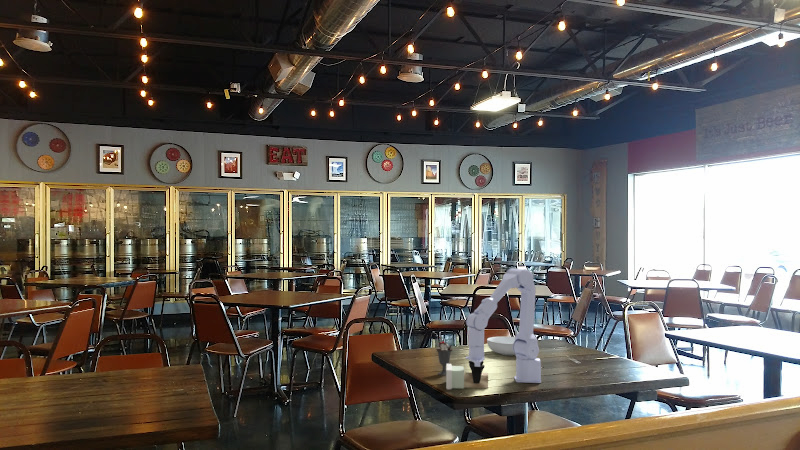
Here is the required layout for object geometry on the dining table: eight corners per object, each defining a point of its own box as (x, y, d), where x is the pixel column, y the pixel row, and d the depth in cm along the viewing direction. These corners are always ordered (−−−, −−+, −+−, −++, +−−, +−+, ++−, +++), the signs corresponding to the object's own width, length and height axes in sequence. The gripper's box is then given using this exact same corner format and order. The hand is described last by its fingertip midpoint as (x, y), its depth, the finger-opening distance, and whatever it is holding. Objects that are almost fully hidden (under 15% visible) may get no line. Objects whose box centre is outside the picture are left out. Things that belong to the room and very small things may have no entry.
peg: (487, 385, 219) (487, 373, 219) (488, 388, 215) (488, 375, 215) (455, 384, 220) (455, 372, 220) (455, 386, 216) (455, 374, 216)
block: (463, 382, 221) (463, 366, 222) (464, 388, 213) (464, 371, 213) (451, 382, 222) (451, 365, 222) (451, 388, 214) (451, 370, 214)
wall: (451, 381, 223) (451, 363, 223) (451, 389, 212) (451, 370, 212) (446, 381, 223) (446, 363, 224) (446, 389, 212) (446, 370, 213)
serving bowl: (536, 352, 282) (536, 338, 282) (521, 360, 264) (521, 345, 264) (497, 348, 293) (497, 334, 293) (479, 355, 275) (479, 340, 275)
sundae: (433, 372, 238) (433, 336, 238) (447, 371, 240) (448, 335, 240) (439, 376, 232) (440, 339, 232) (454, 375, 234) (455, 338, 234)
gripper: (465, 341, 225) (464, 376, 225) (466, 349, 210) (466, 386, 210) (483, 342, 224) (483, 377, 224) (485, 349, 210) (485, 386, 210)
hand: (476, 381), depth 217 cm, fingers closed on peg, 4 cm apart
